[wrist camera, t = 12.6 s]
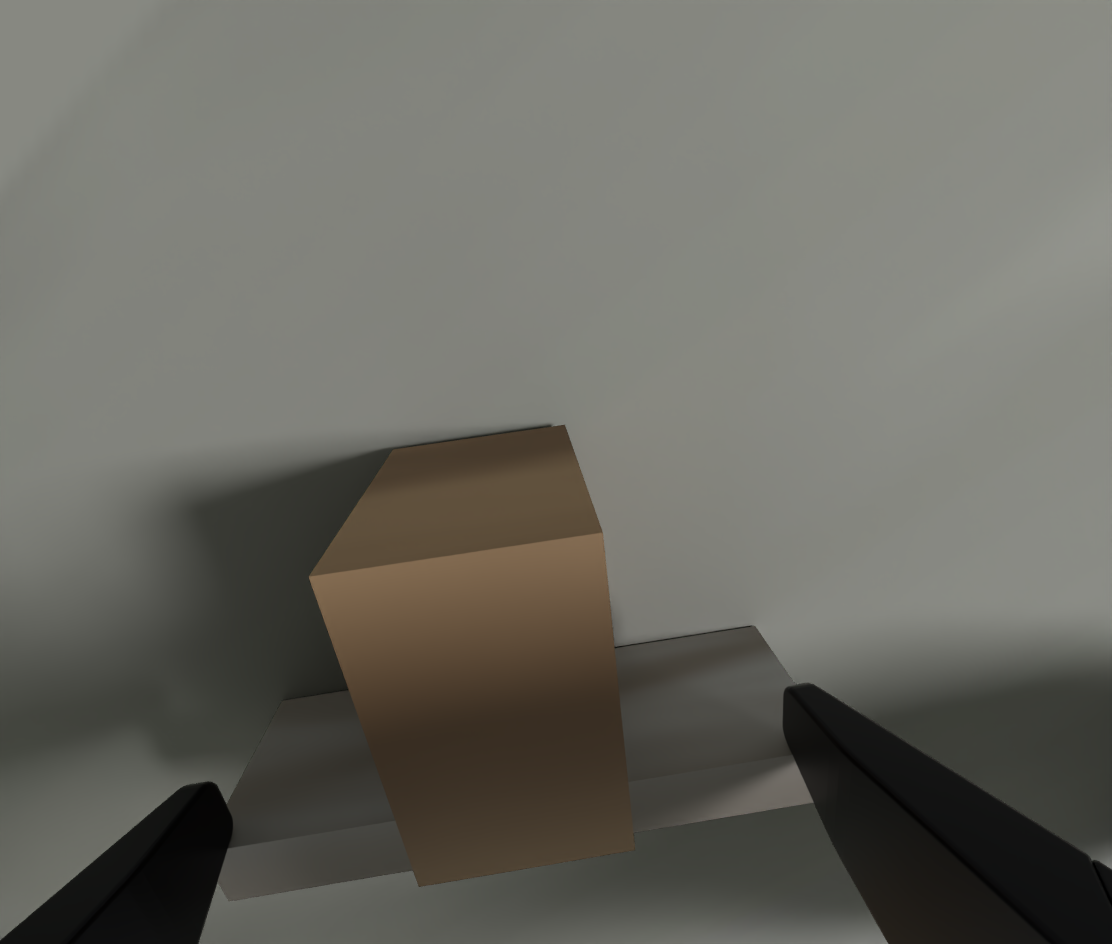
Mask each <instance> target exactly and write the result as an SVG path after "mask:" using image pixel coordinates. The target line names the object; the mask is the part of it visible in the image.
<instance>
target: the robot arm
mask: <svg viewBox="0 0 1112 944" xmlns="http://www.w3.org/2000/svg"><path fill="white" fill-rule="evenodd" d="M782 726H783V732H784V736H785V739H786V742H787V744H788V746H789V749H790V751H791V753H792V755H793V758H794V760H795V762H796V764H797V767H798V769H799V771H800V773H801V775H802V778H803V780H804V782H805V784H806V787H807V789H808V791H809V793H810V796H811V798H812V800H813V802H814V804H815V807H816V809H817V811H818V813H819V816H820V818H821V820H822V822H823V825H824V827H825V829H826V831H827V833H828V835H829V837H830V839H831V842H832V844H833V846H834V847H835V849H836V851H837V853H838V855H839V857H840V859H841V861H842V862H843V864H844V866H845V868H846V870H847V871H848V873H849V875H850V877H851V878H852V880H853V882H854V884H855V886H856V887H857V889H858V891H859V893H860V894H861V896H862V898H863V900H864V902H865V903H866V905H867V907H868V909H869V910H870V912H871V914H872V916H873V917H874V919H875V921H876V923H877V925H878V926H879V928H880V930H881V932H882V933H883V935H884V937H885V939H886V941H887V942H888V944H1112V869H1110V868H1109V867H1107V866H1106V865H1104V864H1102V863H1101V862H1099V861H1096V860H1093V861H1091V859H1090V857H1089V856H1088V855H1087V854H1086V853H1084V852H1083V851H1081V850H1079V849H1078V848H1076V847H1075V846H1073V845H1071V844H1070V843H1068V842H1067V841H1065V840H1063V839H1062V838H1060V837H1059V836H1057V835H1055V834H1054V833H1052V832H1051V831H1049V830H1047V829H1046V828H1044V827H1042V826H1041V825H1039V824H1038V823H1036V822H1034V821H1033V820H1031V819H1030V818H1028V817H1026V816H1025V815H1023V814H1022V813H1020V812H1018V811H1017V810H1015V809H1014V808H1012V807H1010V806H1009V805H1007V804H1005V803H1004V802H1002V801H1001V800H999V799H997V798H996V797H994V796H993V795H991V794H989V793H988V792H986V791H985V790H983V789H981V788H980V787H978V786H977V785H975V784H973V783H972V782H970V781H969V780H967V779H965V778H964V777H962V776H960V775H959V774H957V773H956V772H954V771H952V770H951V769H949V768H948V767H946V766H944V765H943V764H941V763H940V762H938V761H936V760H935V759H933V758H932V757H930V756H928V755H927V754H925V753H923V752H922V751H920V750H919V749H917V748H915V747H914V746H912V745H911V744H909V743H907V742H906V741H904V740H903V739H901V738H899V737H898V736H896V735H895V734H893V733H891V732H890V731H888V730H887V729H885V728H883V727H882V726H880V725H878V724H877V723H875V722H874V721H872V720H870V719H869V718H867V717H866V716H864V715H862V714H861V713H859V712H858V711H856V710H854V709H853V708H851V707H850V706H848V705H846V704H845V703H843V702H841V701H840V700H838V699H837V698H835V697H833V696H832V695H830V694H829V693H827V692H825V691H824V690H822V689H821V688H819V687H817V686H816V685H814V684H811V683H803V684H797V685H791V686H788V687H786V688H785V690H784V693H783V720H782ZM232 832H233V818H232V815H231V813H230V811H229V809H228V807H227V805H226V802H225V800H224V798H223V796H222V794H221V792H220V790H219V788H218V786H217V785H216V784H215V783H213V782H209V781H208V782H202V783H196V784H190V785H186V786H183V787H182V788H180V789H179V790H177V791H176V792H175V793H174V794H173V795H171V796H170V797H169V798H168V799H167V800H166V801H164V802H163V803H162V804H161V805H160V806H158V807H157V808H156V809H155V810H154V811H153V812H151V813H150V814H149V815H148V816H147V817H145V818H144V819H143V820H142V821H141V822H140V823H138V824H137V825H136V826H135V827H134V828H132V829H131V830H130V831H129V832H128V833H127V834H125V835H124V836H123V837H122V838H121V839H119V840H118V841H117V842H116V843H115V844H114V845H112V846H111V847H110V848H109V849H108V850H106V851H105V852H104V853H103V854H102V855H101V856H99V857H98V858H97V859H96V860H95V861H93V862H92V863H91V864H90V865H89V866H88V867H86V868H85V869H84V870H83V871H82V872H80V873H79V874H78V875H77V876H76V877H75V878H73V879H72V880H71V881H70V882H69V883H67V884H66V885H65V886H64V887H63V888H62V889H60V890H59V891H58V892H57V893H56V894H54V895H53V896H52V897H51V898H50V899H49V900H47V901H46V902H45V903H44V904H43V905H41V906H40V907H39V908H38V909H37V910H36V911H34V912H33V913H32V914H31V915H30V916H28V917H27V918H26V919H25V920H24V921H23V922H21V923H20V924H19V925H18V926H17V927H15V928H14V929H13V930H12V931H11V932H10V933H8V934H7V935H6V936H5V937H4V938H2V939H1V940H0V944H198V943H199V940H200V937H201V934H202V930H203V927H204V924H205V921H206V917H207V914H208V911H209V908H210V905H211V901H212V898H213V895H214V892H215V889H216V885H217V882H218V879H219V876H220V872H221V869H222V866H223V863H224V860H225V856H226V853H227V850H228V847H229V843H230V840H231V837H232Z"/></svg>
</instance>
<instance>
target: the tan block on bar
mask: <svg viewBox="0 0 1112 944" xmlns="http://www.w3.org/2000/svg"><path fill="white" fill-rule="evenodd" d="M309 580H310V582H311V585H312V588H313V591H314V594H315V596H316V599H317V602H318V605H319V608H320V610H321V613H322V616H323V619H324V622H325V625H326V627H327V630H328V633H329V636H330V639H331V641H332V644H333V647H334V650H335V653H336V655H337V658H338V661H339V664H340V667H341V670H342V672H343V675H344V678H345V681H346V684H347V686H348V689H349V690H347V691H340V692H334V693H328V694H321V695H315V696H309V697H302V698H296V699H290V700H283V701H282V702H281V704H280V705H279V707H278V709H277V711H276V713H275V715H274V717H273V719H272V720H271V722H270V724H269V726H268V728H267V730H266V732H265V734H264V735H263V737H262V739H261V741H260V743H259V745H258V747H257V749H256V750H255V752H254V754H253V756H252V758H251V760H250V762H249V764H248V765H247V767H246V769H245V771H244V773H243V775H242V777H241V779H240V780H239V782H238V784H237V786H236V788H235V790H234V792H233V794H232V795H231V797H230V799H229V801H228V803H227V807H228V809H229V811H230V813H231V815H232V818H233V832H232V837H231V840H230V843H229V847H228V850H227V853H226V856H225V860H224V863H223V866H222V869H221V872H220V876H219V879H218V883H219V885H220V887H221V889H222V890H223V892H224V894H225V895H226V897H227V899H228V901H234V900H240V899H246V898H252V897H258V896H264V895H269V894H275V893H281V892H287V891H293V890H299V889H305V888H311V887H317V886H323V885H329V884H335V883H340V882H346V881H352V880H358V879H364V878H370V877H376V876H382V875H388V874H394V873H400V872H406V871H411V870H413V872H414V875H415V878H416V880H417V883H418V886H419V887H421V886H427V885H433V884H439V883H445V882H451V881H457V880H463V879H468V878H474V877H480V876H486V875H492V874H498V873H504V872H510V871H516V870H521V869H527V868H533V867H539V866H545V865H551V864H557V863H563V862H568V861H574V860H580V859H586V858H592V857H598V856H604V855H610V854H615V853H621V852H627V851H633V850H635V842H634V833H636V832H642V831H648V830H654V829H660V828H666V827H672V826H678V825H683V824H689V823H695V822H701V821H707V820H713V819H719V818H725V817H731V816H737V815H743V814H749V813H754V812H760V811H766V810H772V809H778V808H784V807H790V806H796V805H802V804H808V803H814V802H813V800H812V798H811V796H810V793H809V791H808V789H807V787H806V784H805V782H804V780H803V778H802V775H801V773H800V771H799V769H798V767H797V764H796V762H795V760H794V758H793V755H792V753H791V751H790V749H789V746H788V744H787V742H786V739H785V736H784V732H783V726H782V720H783V693H784V690H785V688H786V687H788V686H791V685H795V683H794V682H793V680H792V679H791V677H790V676H789V675H788V673H787V672H786V670H785V669H784V667H783V666H782V664H781V663H780V662H779V660H778V659H777V657H776V656H775V654H774V653H773V651H772V650H771V648H770V647H769V646H768V644H767V643H766V641H765V640H764V638H763V637H762V635H761V634H760V633H759V631H758V630H757V628H756V627H755V626H752V627H746V628H740V629H733V630H727V631H721V632H714V633H708V634H702V635H695V636H689V637H683V638H676V639H670V640H664V641H657V642H651V643H645V644H638V645H632V646H626V647H619V648H614V638H613V628H612V618H611V609H610V599H609V589H608V579H607V570H606V560H605V550H604V540H603V532H602V529H601V526H600V524H599V521H598V518H597V515H596V512H595V509H594V507H593V504H592V501H591V498H590V495H589V492H588V490H587V487H586V484H585V481H584V478H583V475H582V473H581V470H580V467H579V464H578V461H577V458H576V456H575V453H574V450H573V447H572V444H571V441H570V439H569V436H568V433H567V430H566V427H565V425H560V426H553V427H546V428H539V429H532V430H525V431H518V432H511V433H504V434H497V435H490V436H483V437H476V438H469V439H462V440H456V441H449V442H442V443H435V444H428V445H421V446H414V447H407V448H400V449H393V450H392V452H391V453H390V455H389V456H388V458H387V459H386V461H385V462H384V464H383V465H382V467H381V468H380V470H379V471H378V473H377V474H376V476H375V477H374V479H373V480H372V482H371V483H370V485H369V486H368V488H367V490H366V491H365V493H364V494H363V496H362V497H361V499H360V500H359V502H358V503H357V505H356V506H355V508H354V509H353V511H352V512H351V514H350V515H349V517H348V518H347V520H346V521H345V523H344V524H343V526H342V527H341V529H340V530H339V532H338V533H337V535H336V536H335V538H334V539H333V541H332V542H331V544H330V545H329V547H328V548H327V550H326V551H325V553H324V554H323V556H322V557H321V559H320V560H319V562H318V563H317V565H316V566H315V568H314V569H313V571H312V572H311V574H310V575H309Z"/></svg>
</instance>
